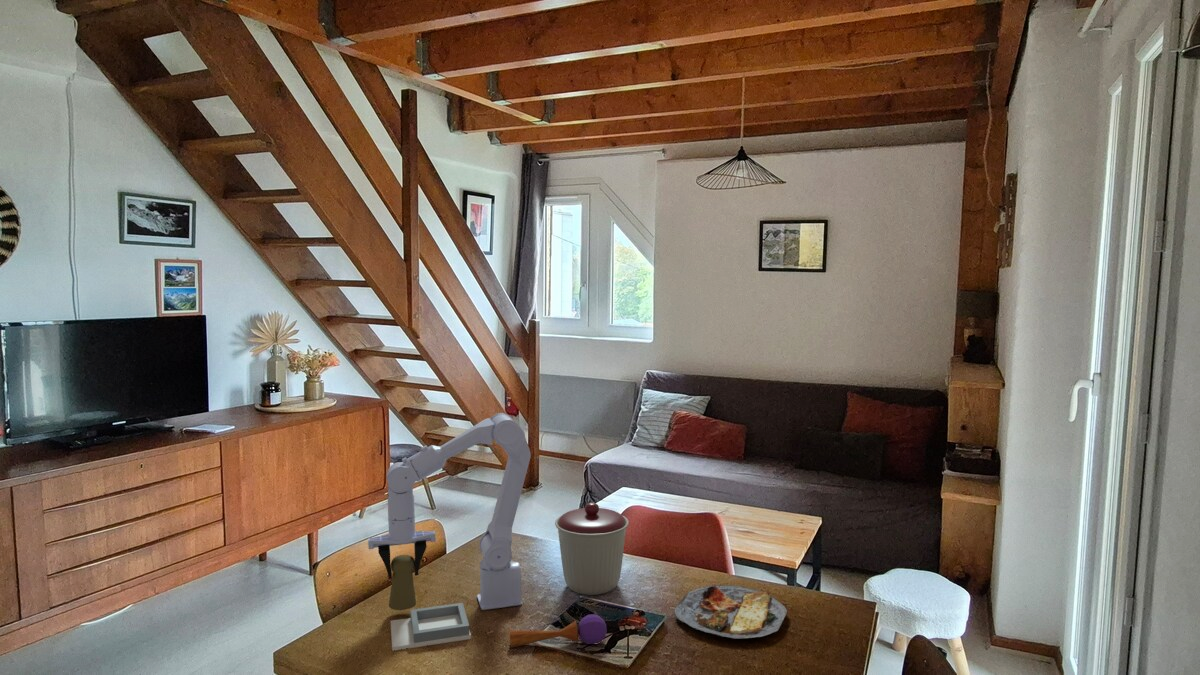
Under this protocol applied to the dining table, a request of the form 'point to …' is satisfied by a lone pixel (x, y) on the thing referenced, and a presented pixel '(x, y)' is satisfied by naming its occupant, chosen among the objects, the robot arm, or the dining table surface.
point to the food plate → (717, 604)
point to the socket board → (430, 627)
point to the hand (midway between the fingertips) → (403, 575)
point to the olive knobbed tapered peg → (402, 583)
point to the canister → (591, 548)
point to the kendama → (565, 632)
